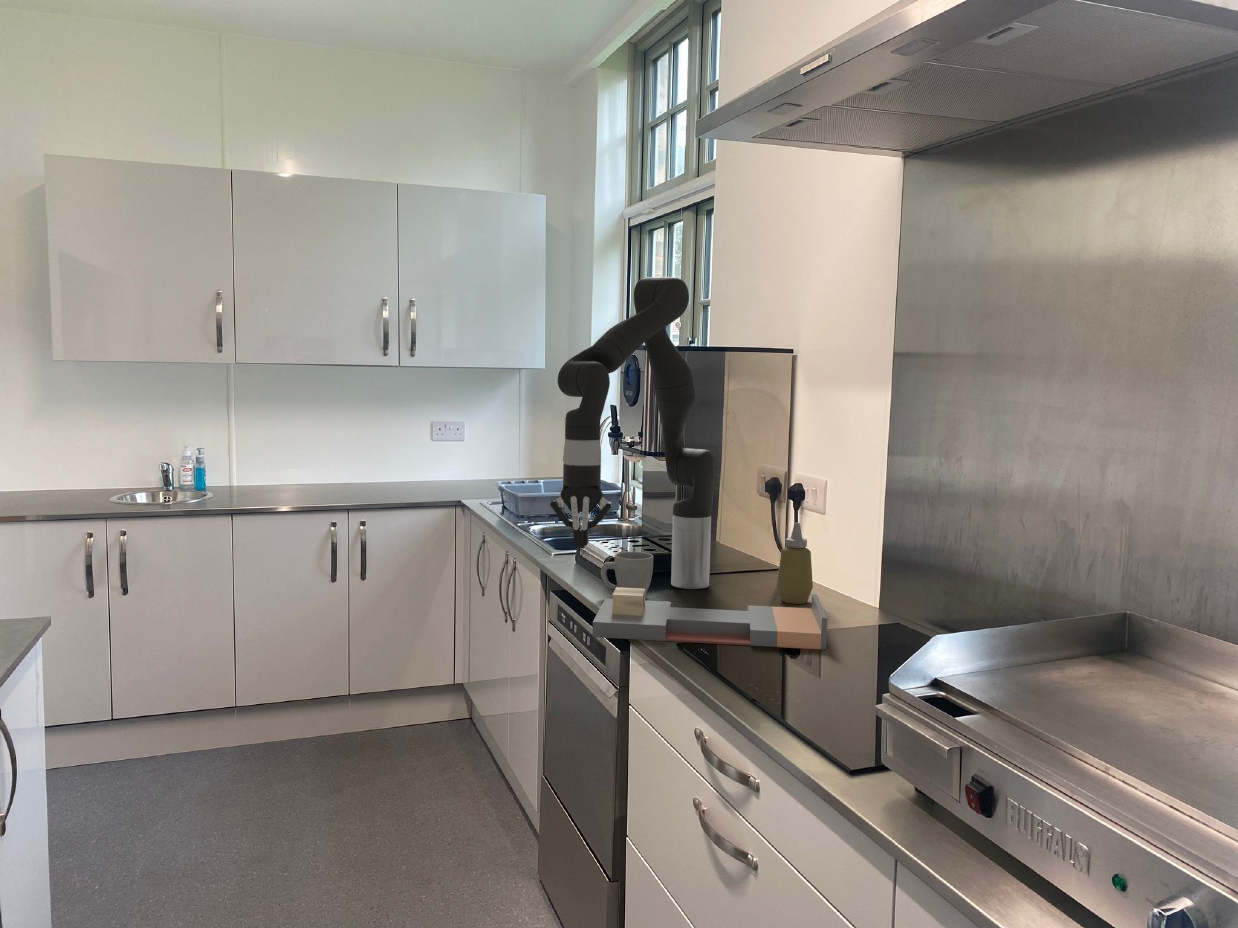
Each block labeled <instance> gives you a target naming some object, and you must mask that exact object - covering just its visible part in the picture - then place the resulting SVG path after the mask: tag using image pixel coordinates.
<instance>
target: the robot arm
mask: <svg viewBox="0 0 1238 928" xmlns="http://www.w3.org/2000/svg"><path fill="white" fill-rule="evenodd" d="M689 302H690V291H689V288H688V285H687V283H686V282H684V280H683V279H682V278H678V277H676V276H651V277H643V278H641V279H639V280H637V282H636V284H635V286H634V290H633V305H634V310H635V314H634V315H631V316H630V317H628V318H626V319H624V320H622V321H620V322H618V323H616V324H615V325H614V326H611V328H609V329H608V330H607V331H606V332H604V333H603V334H602V335H601V336H600V338H598V339H597V340H596V341H595V342H594V344H593V345H591V346H590V347H588V348H585V349H583V350H582V351H580V352H579V353H577V354H575V355H574V356H572V357H571V358H569V359H568V360H567V361H566V362H564V364H563V365H562V366H561V368H560V369H559V372H558V374H557V386H558V389H559V390H560V392H562V394H564V395H566V396H568V397H573V398H581V401H580V404H579V406H578V407H577V408H574V409H571V410H569V411H567V413H566V415H565V419H564V420H565V422H564V425H565V426H564V427H565V428H564V446H563V455H562V462H563V467H562V468H563V469H562V472H563V474H562V477H563V478H562V489H561V491H560V493H559V494H560V496H559V497H557V498H556V499H554V500H551V502H550V503H549V505H550V507H551V508H552V510H553V512H554V513H555V514H556V515H557V517H558V518H559V519H560V520H561V522H562V523H563V524H564V526H565V527H570V528H571V529H572V530H573V545H574V546H576V549H585V548H586V546H588V544H589V541H590V540H589V533H590V531H589V530H590V529H592V528H596V526H598V524H599V523H600V522H601V521H602V519H603V518H605V516H606V515H607V514H608V512H609V511H610V510H611V508H612V507H613V506H614V504H613V502H612V501H608V500H607V499H606V498H604V494H603V491H602V487H601V483H602V482H601V478H602V476H601V475H602V448H601V447H602V446H601V419H602V415H603V412H604V409H605V404H606V402H607V397H608V395H609V390H610V384H611V383H610V382H611V381H610V379H611V378H610V375H609V374H612V373H614V372H616V371H617V370H618V369H620V368H621V366H622V365H624V363H625V362H626V361H627V360H628V359H629V358H631V356H632V354H634V353H635V351H637V350H638V349H639V348H640V347H641V346H642V345H643V344H645V350H646V352H647V357H648V362H649V366H650V371H651V376H652V377H651V378H652V379H651V380H652V385H653V390H654V391H653V392H654V396H655V400H656V404H657V408H658V412H659V418H660V424H661V430H662V440H663V448H664V459H665V467H666V473H667V477H668V479H669V481H670V483H672V484H673V485H675V486H679V487H688V488H692V493H691V495H690V496H689V497H687V498H684V499H682V500H678V501H675V502H674V504H673V506H672V534H671V535H672V536H671V537H672V539H671V574H670V575H671V576H670V577H671V578H670V580H671V581H670V585H671V586H672V587H675V588H679V589H684V590H685V589H686V590H699V589H706V588H708V587H709V586H710V567H711V566H710V565H711V532H712V526H711V525H712V509H713V503H714V493H715V491H714V490H715V481H716V480H715V479H716V459H715V456H714V454H713V452H712V451H711V450H709V449H703V448H702V449H700V448H690V447H689V448H688V447H686V446H685V441H684V428H685V425H686V422H687V420H688V419H689V417H690V414H691V412H692V410H693V408H694V405H695V402H696V399H697V398H696V396H697V395H696V388H695V382H694V375H693V372H692V369H691V367H690V365H689V364H688V362H687V360H686V358H685V357H684V356H683V355H682V353H681V352H680V350H678V348H677V347H676V345H675V344H674V343H673V342H672V340H671V337H670V335H669V334H668V331H667V329H666V327H668V326H669V325H671V324H672V323H673V322H675V321H676V320H679V318H680V317H681V316H683V314H685V312H686V310H687V308H688V306H689ZM599 503H600V505H599V509H600V511H599V512H598V513H597V514H596V516H595V517H594V518H593V519H592V520H591V514H592V512H593V511H594V510H595V509H596V507H597V506H598V504H599ZM564 504H565V506H566V507H567V508H568V510H569V512H571V517H572V518H571V517H570V515H569V514H568V512H566V510H565V509H564Z"/></svg>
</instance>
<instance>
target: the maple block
mask: <svg viewBox="0 0 1238 928" xmlns="http://www.w3.org/2000/svg"><path fill="white" fill-rule="evenodd" d="M611 599H612V614H617V615H637V616H642V615H643V612H644V609H645V600H646V594H645V589H641V588H619V587H616V589H614V591H613V592H612V598H611Z"/></svg>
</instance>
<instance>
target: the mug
mask: <svg viewBox="0 0 1238 928" xmlns="http://www.w3.org/2000/svg"><path fill="white" fill-rule="evenodd" d="M608 570H613V571H614V573H615V579H616V584H613V583H611V582H610V581H609V578H608V575H607V571H608ZM653 570H654V555H653V554H651V553H648V552H646V551H645V552H644V551H621V552H618V553H616V554H615V555H614V561H606V562H604V563H603V564H602V566H601V567H600V577H601V579H602V581H603V583H604V584H605V586H606V587H607V588H610V589H613V590H615V589H616V587H619V588H641V589H645V595H646V594H647V591H648V590H649V587H650V585H651V581H652V576H653Z"/></svg>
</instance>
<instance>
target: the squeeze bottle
mask: <svg viewBox="0 0 1238 928" xmlns="http://www.w3.org/2000/svg"><path fill="white" fill-rule="evenodd" d="M807 547H808V539H807V538H804V537H803V534H802V529H801V523H800V522H794V524H793V527H792V532H791V534H790V537H787V538H785V546H784V547H782V548H781V551H780V557H779V558H780V559H779V564H778V572H777V580H776V586H777V590H778V593H779V597H780V600H781V602H783V603H787V604H790V605H801V604H806V603H807V602H808V600H809V597H810V595H811V593H812V590H813V587H814V586H813V581H814V580H813V568H812V567H813V566H812V554H811V553H812V551H811V550H810V549H809V548H807Z"/></svg>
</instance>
